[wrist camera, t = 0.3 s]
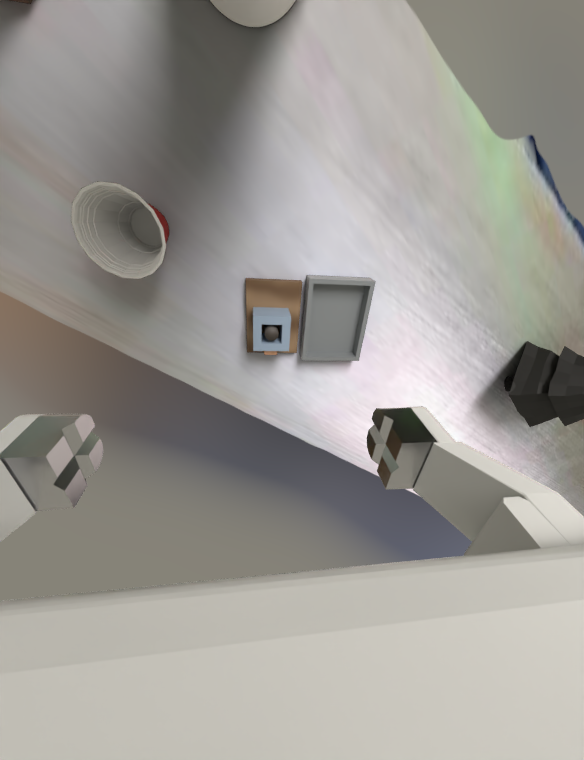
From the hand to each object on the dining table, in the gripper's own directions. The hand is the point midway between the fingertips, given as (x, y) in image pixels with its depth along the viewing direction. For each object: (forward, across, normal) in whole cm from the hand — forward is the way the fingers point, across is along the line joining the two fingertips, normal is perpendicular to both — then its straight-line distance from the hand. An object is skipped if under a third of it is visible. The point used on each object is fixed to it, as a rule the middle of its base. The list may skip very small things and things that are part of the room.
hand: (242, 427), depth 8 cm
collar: (+45, -3, +13) cm, 47 cm away
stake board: (+46, -4, +12) cm, 48 cm away
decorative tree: (+47, -68, +21) cm, 85 cm away
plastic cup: (+46, +16, -2) cm, 49 cm away
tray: (+46, -16, +12) cm, 51 cm away
